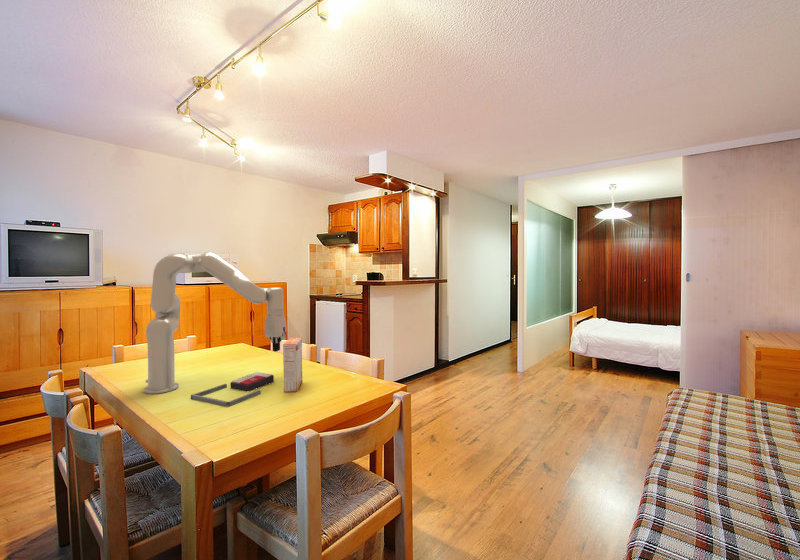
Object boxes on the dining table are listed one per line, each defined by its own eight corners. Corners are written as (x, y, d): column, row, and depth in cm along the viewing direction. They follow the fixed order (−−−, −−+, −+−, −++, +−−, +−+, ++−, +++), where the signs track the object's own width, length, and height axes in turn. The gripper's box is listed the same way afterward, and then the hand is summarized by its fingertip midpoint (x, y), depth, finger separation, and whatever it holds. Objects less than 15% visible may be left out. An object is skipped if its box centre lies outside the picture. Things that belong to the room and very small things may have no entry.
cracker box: (289, 382, 161) (289, 337, 160) (302, 382, 161) (302, 337, 161) (282, 392, 147) (282, 343, 146) (297, 392, 147) (297, 343, 147)
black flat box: (229, 380, 152) (256, 370, 166) (230, 390, 152) (257, 379, 166) (247, 384, 147) (274, 373, 161) (248, 394, 148) (274, 382, 161)
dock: (190, 398, 139) (190, 395, 139) (225, 387, 154) (225, 383, 154) (227, 406, 130) (227, 403, 130) (260, 393, 145) (260, 390, 145)
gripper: (257, 313, 166) (258, 351, 167) (281, 314, 160) (282, 353, 161) (269, 311, 173) (270, 348, 174) (293, 312, 167) (293, 350, 168)
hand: (276, 350), depth 167 cm, fingers closed
